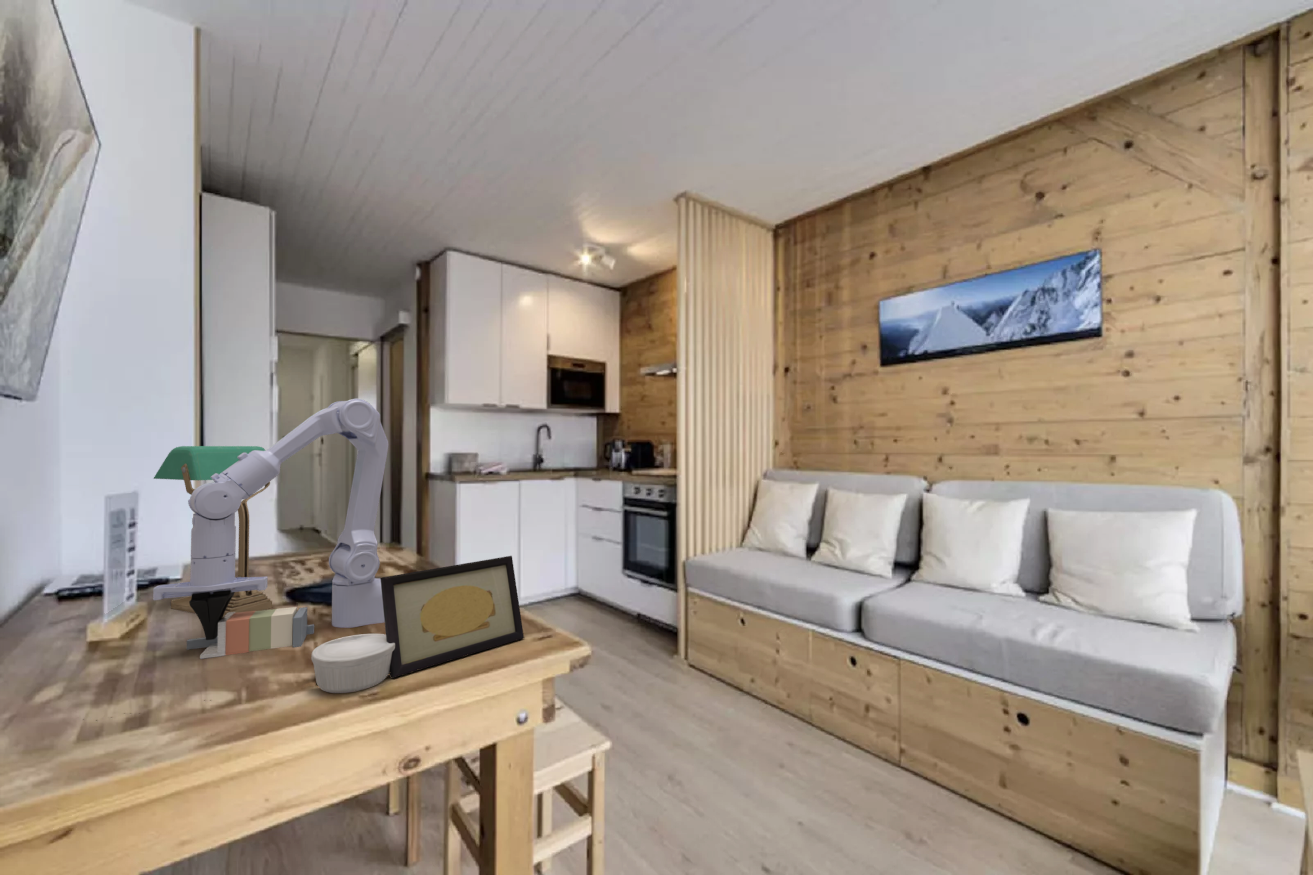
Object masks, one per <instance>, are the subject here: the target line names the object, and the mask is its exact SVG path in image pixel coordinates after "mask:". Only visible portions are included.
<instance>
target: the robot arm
mask: <svg viewBox="0 0 1313 875" xmlns="http://www.w3.org/2000/svg"><path fill="white" fill-rule="evenodd" d="M333 434H334V435H335V434H339V435H341V436H343V437H344V438H346V439H347V440H348V441H349V443H350V444H351V445H353V446H354V447H355V449H356V450H357V454H356V460H355V465H354V472H353V476H352V483H351V489H350V494H349V500H348V505H347V511H346V517H345V522H344V527H343V528H344V529H343V530H342V531H341V533H340V535H339V536H338V538H337V543H336V545H335V547H334V549H333V550H332V551H331V553H330V554H329V557H328V566H329V568H330V570H331V571H332V572H333V573H334V576H333V579H332V581H331V582H332V585H331V586H332V587H331V588H332V589H331V591H332V593H331V626H332V627H335V628H343V629H344V628H346V629H350V628H357V627H361V626H367V625H374V624H382V623H384V624H385V621H384V610H383V600H382V589H381V579H380V577H379V578H376V574H377V573H378V571H379V568H380V565H381V564H380V558H379V554H378V540H377V537H376V535H375V527H376V521H377V515H378V510H379V504H380V503H379V502H380V499H381V498H380V497H381V492H382V486H383V480H384V473H385V468H386V464H387V456H388V451H389V440H388V438H387V436H386V433H385V430H384V427H383V425H382V422H381V414H380V412H379V411H378V410H377V409H376V408H375V407H374V406H373V405H372V404H371V403H370V402H368V401H367V400H365V399H362V398H352V399H349V400H338V401H335V402H332V403H331V404H329V405H328V407H326V408H323V409H321V410H318V411H317V412H315V413H313V414H312V415H311V416H309V417H308V418H307V419H305V420H304V421H303V422H301V423H300V424H298V426H295V427H294V429H292V430H291V431H289V432H288V433H287V434H286V435H285V436H283V437H282V438H281V439H279V440H277V441H276V443H274V444H273V445H272V446H270V447H269V448H268V449H265V450H266V451H258V450H253V451H251V452H250V453H249V454H247V453H242V454H240V455H239V456H238V457H237V458H238V459H239V461H237V462H236V463H234V464H233V465H232V466H230V467H229V468H227V469H226V470H225V471H223V472H222V473H220V474H219V475H218V474H217V473H215V474H214V475H212V476H211V478H212V479H213V480H212V482H206V483H203V484H201V485H199V486H197V487H196V488H194V489H195V490H194V491H193V493H192V495H191V494H190V497H189V499H188V500H187V504H188V506H189V508H190V510H191V511H192V512H193V513H192V518H191V519H192V520H191V523H192V524H191V525H192V528H191V531H190V577H189V578H190V579H189V580H190V581H183V582H178V583H169V584H160V585H157V586H154V587H153V589H152V593H153V596H152V598H153V599H152V600H153V601H161V600H163V599H171V598H184V597H189V596H192V598H191V600H190V601H189V604H190V606H191V608H192V609H193V610H194V611H195V613H194V614H195V615H196V616H197V618H198V620H199V621H200V624H201V626H202V628H203V632H204V636H205V637H206V640H213V639H215V638H216V637H217V636H218V622H219V621H220V620H221V619H222V617H223V615H224V613H225V610H226V608H227V606H228V604H229V602H230V600H231V599H232V597H233V595H234V593H235V592H239V591H250V590H257V591H258V592H261V591H265V590H266V589H267V588H268V578H269V577H268V576H249V577H238V576H237V577H236V543H237V542H236V541H237V540H236V538H237V526H236V522H235V521H236V516H235V515H236V513H238V509H239V507H240V505H241V502H242V501H243V500H244V499H247V498H249V497H250V496H251V495H253V494H254V493H256V492H258V491H260V490H261V489H263V488H264V487H265V485H266V484H267V483H268V482H270V483H271V481H273V480H274V479H275V478H277V477H278V476H279V475H280V473H281V465H282V463H284V462H285V461H287V460H288V459H290V458H291V457H293V456H294V455H295V454H297V453H298V452H300V451H301V450H303V449H304V448H306V447H307V446H309V445H311V443H313V442H314V441H315V440H317V439H319V438H320V437H322V436H328V435H333Z"/></svg>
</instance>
